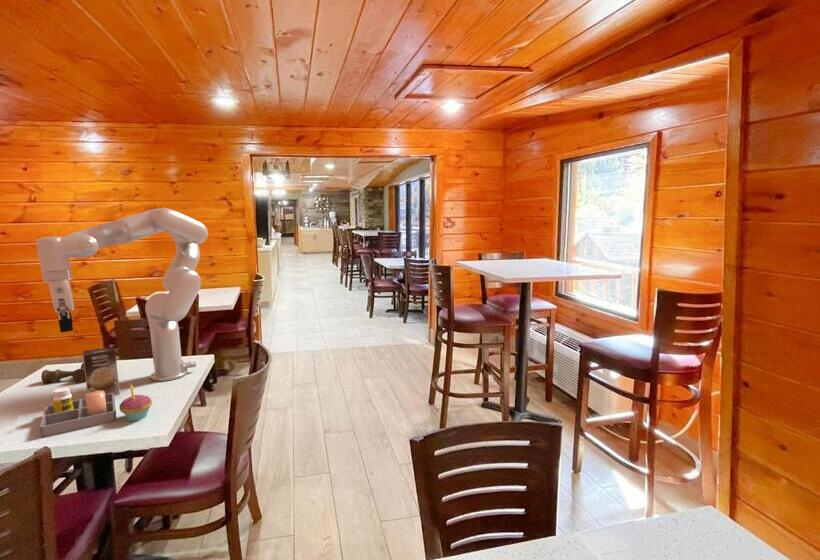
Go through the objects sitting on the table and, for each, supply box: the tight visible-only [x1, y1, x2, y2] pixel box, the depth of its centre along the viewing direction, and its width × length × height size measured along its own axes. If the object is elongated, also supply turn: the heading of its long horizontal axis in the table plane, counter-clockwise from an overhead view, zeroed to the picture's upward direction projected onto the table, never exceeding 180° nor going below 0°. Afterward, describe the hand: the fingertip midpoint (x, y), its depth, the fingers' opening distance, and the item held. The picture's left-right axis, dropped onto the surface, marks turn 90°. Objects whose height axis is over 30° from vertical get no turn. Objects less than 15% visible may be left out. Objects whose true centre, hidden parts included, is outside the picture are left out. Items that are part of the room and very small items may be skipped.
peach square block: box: [84, 391, 107, 416], centre depth 140 cm, size 5×5×8 cm
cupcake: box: [118, 383, 153, 422], centre depth 141 cm, size 9×8×12 cm
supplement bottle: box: [52, 386, 74, 413], centre depth 143 cm, size 5×5×8 cm
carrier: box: [39, 393, 118, 439], centre depth 142 cm, size 18×18×4 cm
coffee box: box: [82, 346, 121, 396], centre depth 159 cm, size 9×6×16 cm
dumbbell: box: [40, 362, 86, 384], centre depth 177 cm, size 6×10×20 cm
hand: (66, 328), depth 152 cm, fingers open, 9 cm apart
